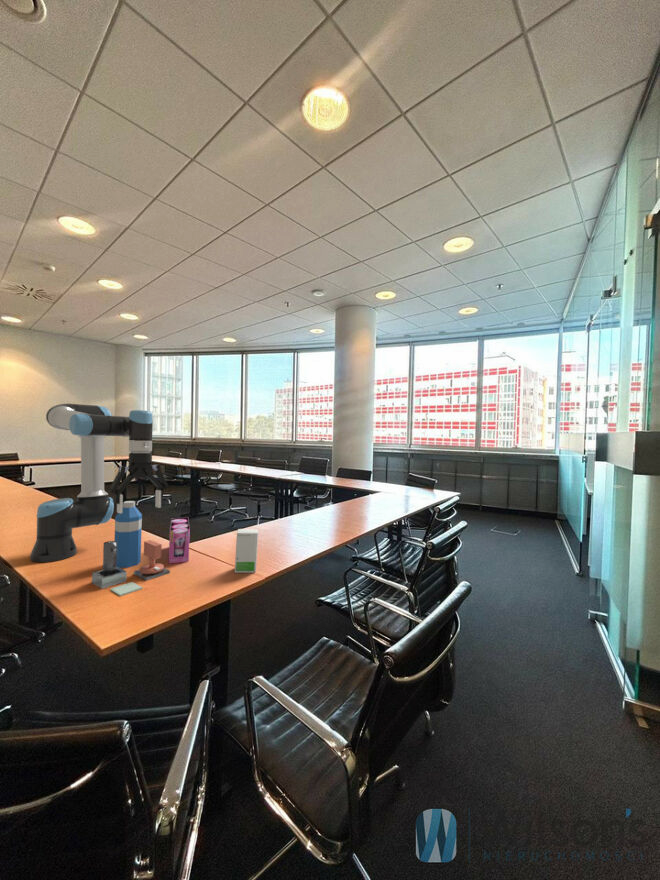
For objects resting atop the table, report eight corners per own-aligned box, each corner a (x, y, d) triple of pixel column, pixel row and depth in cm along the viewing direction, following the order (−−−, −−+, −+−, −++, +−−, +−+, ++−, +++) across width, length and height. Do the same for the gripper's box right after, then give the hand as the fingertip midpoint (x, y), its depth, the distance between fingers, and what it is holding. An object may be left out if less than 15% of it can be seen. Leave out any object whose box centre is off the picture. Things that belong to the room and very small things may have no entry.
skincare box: (234, 573, 133) (235, 533, 132) (236, 566, 139) (237, 528, 139) (256, 572, 134) (257, 532, 134) (257, 566, 140) (258, 528, 140)
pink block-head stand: (135, 570, 129) (136, 543, 129) (156, 564, 135) (157, 538, 135) (147, 576, 124) (148, 548, 124) (168, 569, 130) (169, 542, 130)
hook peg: (100, 582, 121) (101, 542, 121) (112, 578, 124) (113, 540, 124) (107, 586, 118) (108, 546, 117) (120, 583, 121) (121, 543, 121)
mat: (110, 590, 115) (110, 588, 115) (132, 583, 121) (132, 581, 121) (120, 596, 111) (120, 594, 111) (142, 588, 117) (142, 587, 117)
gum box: (189, 563, 142) (190, 530, 141) (168, 565, 138) (169, 531, 138) (188, 545, 164) (189, 517, 163) (169, 547, 160) (170, 518, 160)
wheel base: (133, 574, 129) (133, 570, 129) (157, 567, 136) (157, 563, 136) (145, 580, 123) (146, 577, 123) (169, 572, 131) (169, 569, 131)
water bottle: (128, 569, 133) (130, 504, 133) (107, 566, 135) (109, 503, 135) (145, 560, 142) (147, 500, 142) (126, 558, 144) (128, 499, 144)
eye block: (91, 582, 120) (92, 572, 120) (116, 575, 127) (116, 566, 127) (101, 589, 116) (101, 578, 116) (126, 581, 122) (126, 571, 122)
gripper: (107, 453, 115) (106, 516, 114) (178, 452, 135) (177, 506, 134) (98, 452, 119) (97, 513, 119) (168, 451, 139) (167, 504, 139)
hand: (139, 510), depth 127 cm, fingers open, 13 cm apart
